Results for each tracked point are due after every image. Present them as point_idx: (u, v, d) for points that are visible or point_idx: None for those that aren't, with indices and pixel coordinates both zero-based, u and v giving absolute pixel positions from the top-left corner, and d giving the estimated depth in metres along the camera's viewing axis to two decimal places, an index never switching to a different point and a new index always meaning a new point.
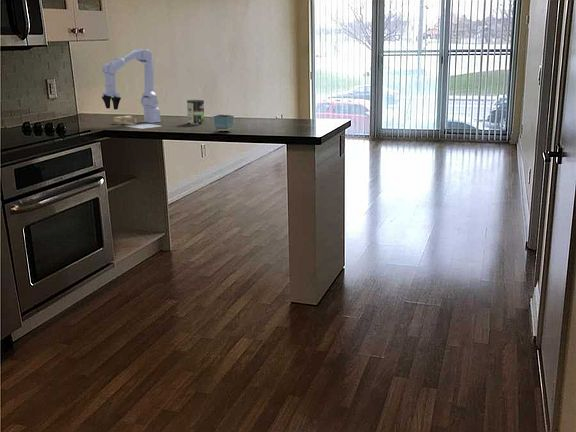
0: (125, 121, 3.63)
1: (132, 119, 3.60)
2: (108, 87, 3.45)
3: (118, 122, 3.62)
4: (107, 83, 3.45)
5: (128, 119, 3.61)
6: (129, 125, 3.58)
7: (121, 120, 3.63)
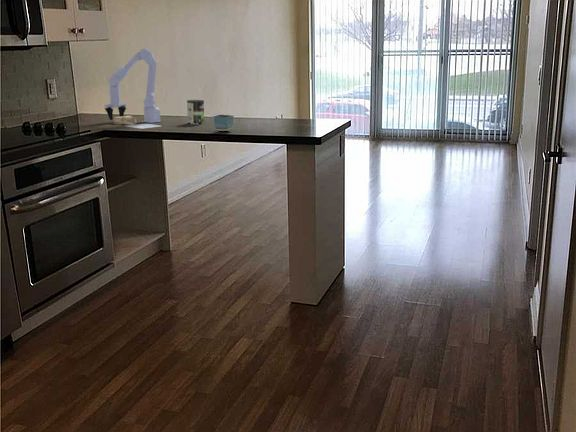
0: (125, 121, 3.63)
1: (132, 119, 3.60)
2: None
3: (118, 122, 3.62)
4: (110, 95, 3.66)
5: (128, 119, 3.61)
6: (129, 125, 3.58)
7: (121, 120, 3.63)
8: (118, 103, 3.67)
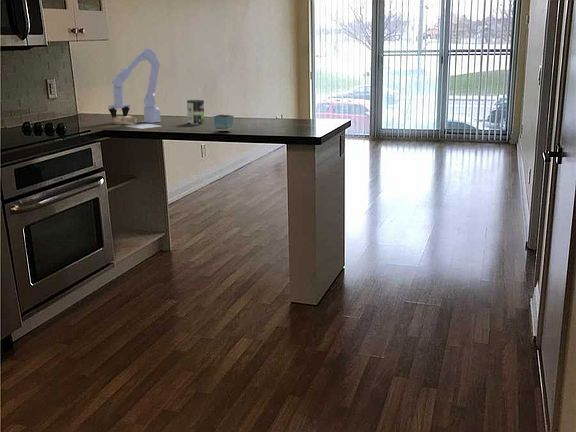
0: (125, 121, 3.63)
1: (132, 119, 3.60)
2: None
3: (118, 122, 3.62)
4: None
5: (128, 119, 3.61)
6: (129, 125, 3.58)
7: (121, 120, 3.63)
8: (122, 104, 3.65)
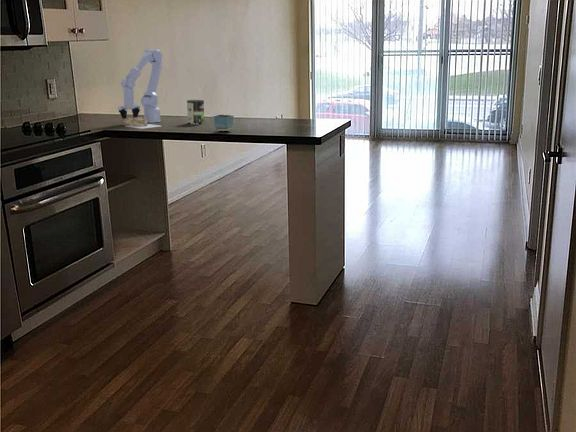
0: (135, 122, 3.57)
1: (142, 120, 3.54)
2: None
3: (128, 123, 3.56)
4: (125, 97, 3.57)
5: (138, 120, 3.55)
6: None
7: (131, 122, 3.57)
8: (132, 105, 3.59)
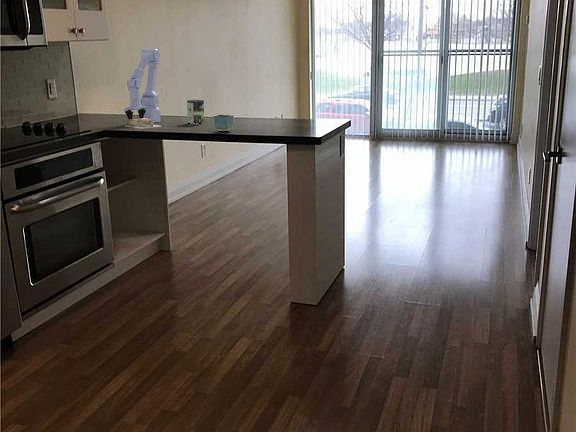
0: (141, 123, 3.54)
1: (149, 121, 3.51)
2: None
3: (134, 124, 3.53)
4: (133, 97, 3.53)
5: (144, 121, 3.51)
6: None
7: (137, 123, 3.54)
8: (138, 106, 3.56)
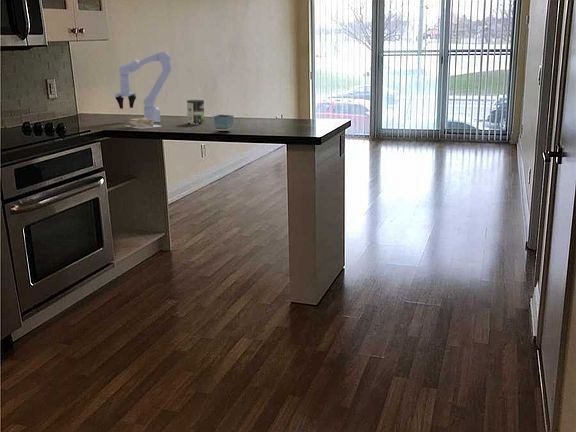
0: (141, 123, 3.54)
1: (149, 121, 3.51)
2: None
3: (134, 124, 3.53)
4: (120, 83, 3.66)
5: (144, 121, 3.51)
6: None
7: (137, 123, 3.54)
8: (128, 92, 3.67)
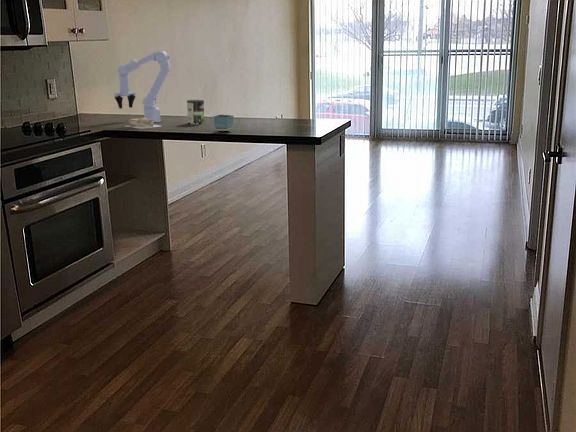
0: (141, 123, 3.54)
1: (149, 121, 3.51)
2: None
3: (134, 124, 3.53)
4: (119, 83, 3.68)
5: (144, 121, 3.51)
6: None
7: (137, 123, 3.54)
8: (127, 92, 3.69)
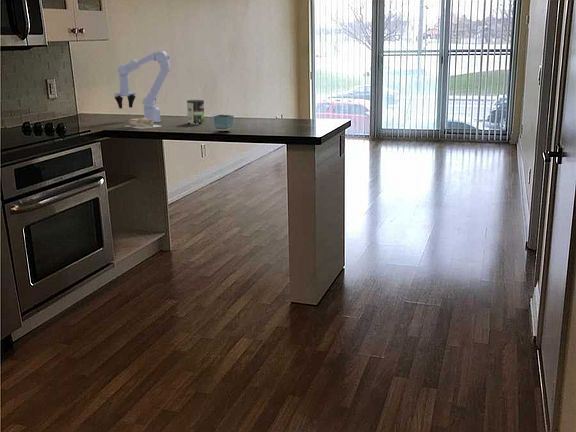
0: (141, 123, 3.54)
1: (149, 121, 3.51)
2: None
3: (134, 124, 3.53)
4: (119, 83, 3.68)
5: (144, 121, 3.51)
6: None
7: (137, 123, 3.54)
8: (127, 92, 3.69)
